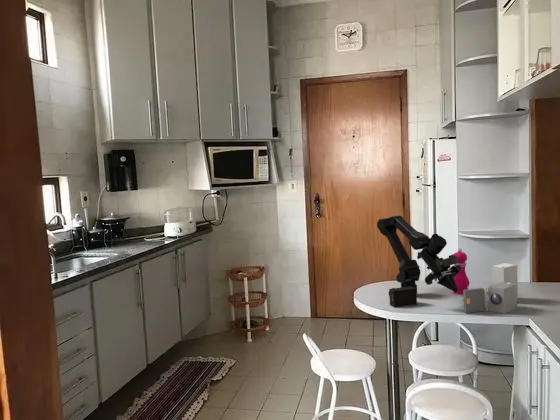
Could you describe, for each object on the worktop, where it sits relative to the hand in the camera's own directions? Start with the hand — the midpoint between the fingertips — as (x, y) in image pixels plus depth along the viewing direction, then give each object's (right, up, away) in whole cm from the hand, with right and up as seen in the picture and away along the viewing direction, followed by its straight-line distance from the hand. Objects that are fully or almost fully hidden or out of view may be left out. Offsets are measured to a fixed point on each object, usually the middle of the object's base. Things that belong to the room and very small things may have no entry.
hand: (457, 291), depth 183 cm
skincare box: (+23, -5, +7) cm, 24 cm away
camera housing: (+16, -6, -5) cm, 18 cm away
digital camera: (-19, -7, +10) cm, 23 cm away
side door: (+5, -6, -7) cm, 11 cm away
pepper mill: (+10, -5, +23) cm, 25 cm away
